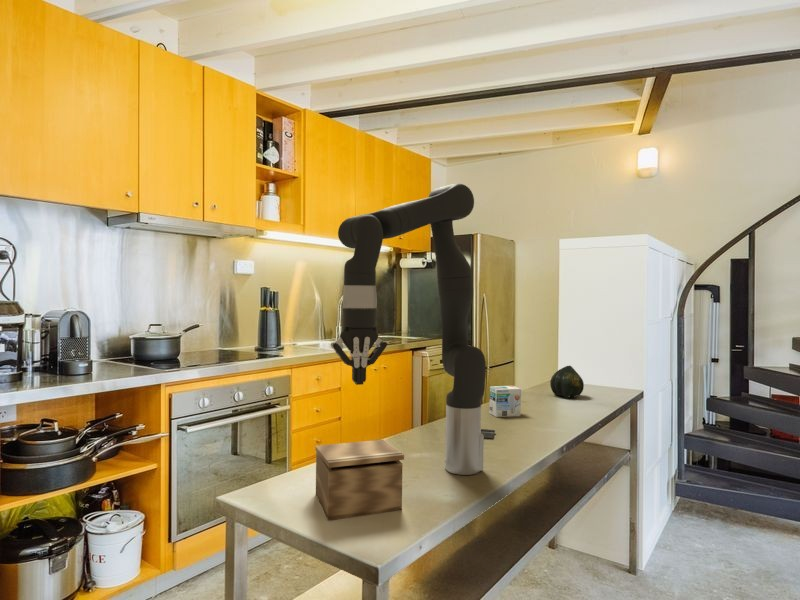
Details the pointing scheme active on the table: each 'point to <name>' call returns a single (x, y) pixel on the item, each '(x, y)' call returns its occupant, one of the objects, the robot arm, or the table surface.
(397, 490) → the brown wooden box
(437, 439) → the table surface
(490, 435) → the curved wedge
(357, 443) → the lid
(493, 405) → the light bulb box
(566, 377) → the squash
